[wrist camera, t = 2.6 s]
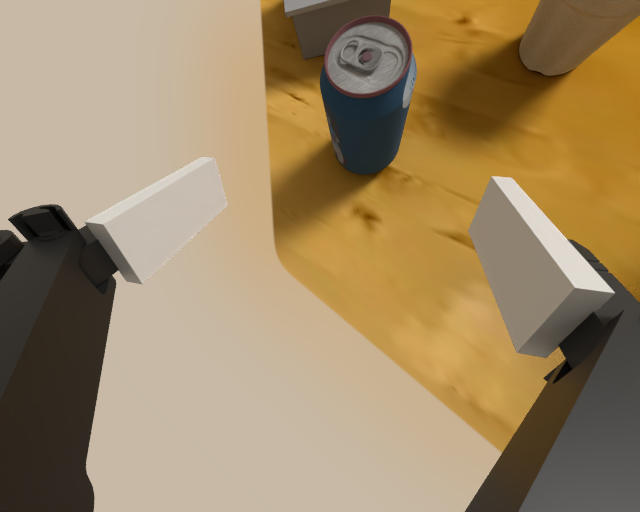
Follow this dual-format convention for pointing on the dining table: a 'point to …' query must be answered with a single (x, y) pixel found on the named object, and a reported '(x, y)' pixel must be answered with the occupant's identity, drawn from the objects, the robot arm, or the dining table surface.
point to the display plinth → (328, 19)
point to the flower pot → (572, 32)
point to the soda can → (368, 91)
